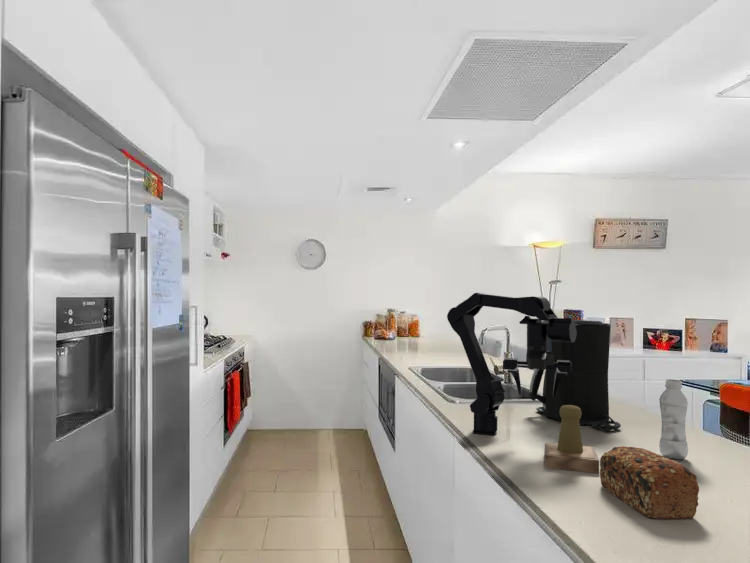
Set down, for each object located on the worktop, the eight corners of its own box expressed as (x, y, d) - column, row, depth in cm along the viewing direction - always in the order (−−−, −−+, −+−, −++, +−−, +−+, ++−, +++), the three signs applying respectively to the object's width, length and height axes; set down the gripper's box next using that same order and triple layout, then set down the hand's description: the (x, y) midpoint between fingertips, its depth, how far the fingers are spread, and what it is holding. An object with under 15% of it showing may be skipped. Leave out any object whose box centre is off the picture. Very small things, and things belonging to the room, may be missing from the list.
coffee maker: (561, 407, 204) (562, 317, 205) (646, 425, 177) (646, 321, 178) (521, 414, 191) (522, 318, 192) (606, 434, 164) (607, 322, 165)
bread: (700, 520, 101) (700, 466, 102) (645, 521, 100) (646, 467, 101) (643, 485, 120) (644, 440, 120) (597, 486, 119) (597, 440, 119)
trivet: (545, 467, 131) (545, 454, 131) (544, 454, 142) (544, 441, 142) (599, 473, 127) (599, 459, 127) (593, 458, 139) (593, 446, 139)
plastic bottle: (678, 463, 136) (678, 383, 137) (653, 455, 142) (653, 379, 143) (693, 460, 139) (694, 381, 140) (669, 453, 145) (669, 377, 146)
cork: (580, 455, 131) (580, 409, 131) (554, 450, 134) (555, 406, 134) (585, 449, 136) (585, 405, 136) (560, 445, 139) (560, 402, 139)
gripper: (501, 341, 150) (501, 398, 149) (573, 343, 144) (573, 403, 144) (504, 338, 160) (503, 391, 160) (571, 340, 155) (571, 395, 155)
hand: (536, 395), depth 154 cm, fingers open, 9 cm apart
